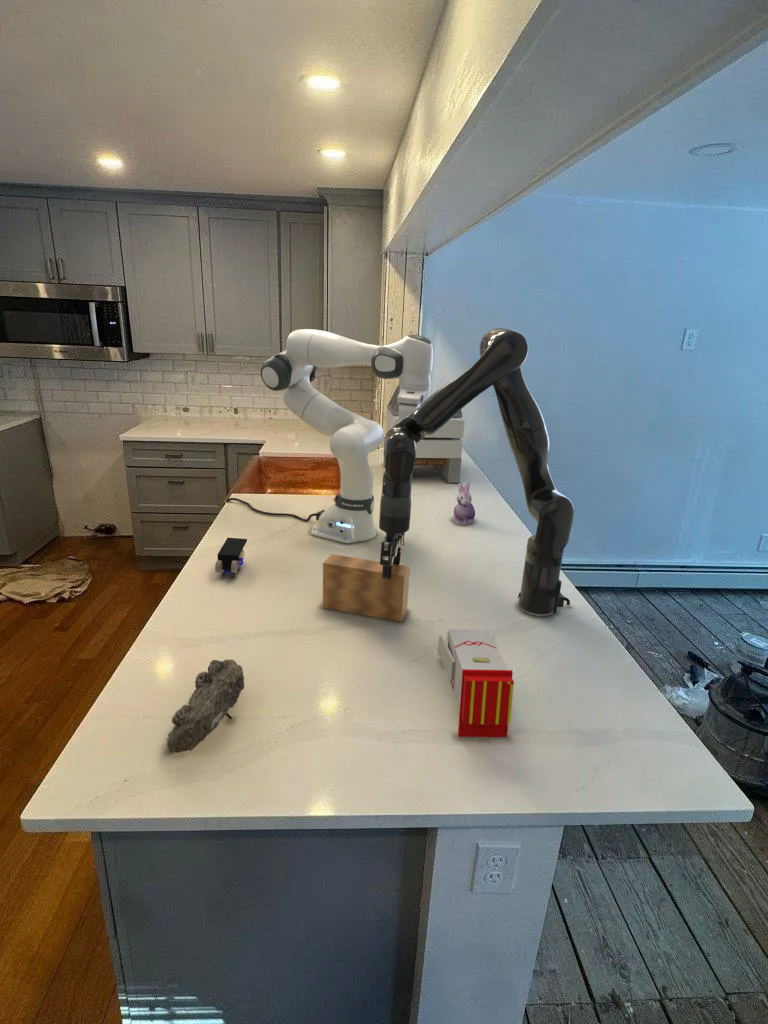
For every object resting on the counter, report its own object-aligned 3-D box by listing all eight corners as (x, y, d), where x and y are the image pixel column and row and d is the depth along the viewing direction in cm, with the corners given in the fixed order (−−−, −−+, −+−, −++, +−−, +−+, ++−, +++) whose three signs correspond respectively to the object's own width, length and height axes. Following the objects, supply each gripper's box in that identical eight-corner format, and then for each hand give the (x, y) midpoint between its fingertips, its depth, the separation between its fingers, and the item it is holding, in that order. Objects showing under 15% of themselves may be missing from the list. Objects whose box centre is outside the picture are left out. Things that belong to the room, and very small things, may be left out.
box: (322, 607, 149) (322, 562, 145) (330, 597, 154) (331, 553, 150) (401, 622, 144) (404, 576, 139) (407, 610, 149) (409, 566, 145)
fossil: (192, 660, 117) (244, 628, 112) (224, 691, 120) (276, 661, 115) (142, 746, 98) (202, 712, 93) (182, 779, 101) (242, 748, 96)
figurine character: (238, 584, 162) (249, 557, 175) (236, 562, 158) (247, 536, 172) (215, 584, 161) (227, 556, 175) (212, 561, 158) (225, 535, 171)
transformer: (382, 463, 289) (386, 382, 275) (445, 464, 293) (451, 384, 279) (390, 482, 257) (394, 392, 243) (460, 483, 261) (468, 394, 247)
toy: (488, 613, 130) (523, 677, 101) (484, 667, 133) (517, 744, 104) (435, 612, 130) (455, 676, 101) (432, 666, 133) (451, 743, 103)
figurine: (461, 527, 208) (464, 488, 203) (445, 518, 216) (448, 480, 211) (481, 524, 212) (485, 485, 207) (466, 515, 221) (469, 478, 216)
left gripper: (411, 388, 174) (408, 432, 179) (395, 397, 156) (392, 446, 160) (431, 390, 173) (428, 435, 178) (418, 399, 154) (414, 449, 159)
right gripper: (403, 522, 130) (398, 585, 136) (416, 504, 143) (412, 562, 149) (371, 518, 132) (368, 580, 138) (388, 500, 145) (384, 558, 151)
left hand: (411, 440), depth 169 cm, fingers open, 8 cm apart
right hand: (391, 571), depth 143 cm, fingers open, 8 cm apart
